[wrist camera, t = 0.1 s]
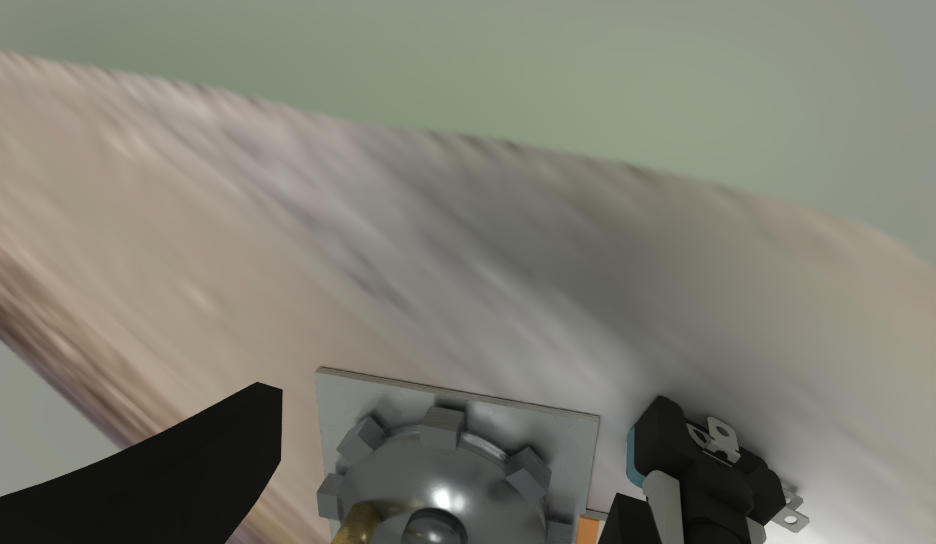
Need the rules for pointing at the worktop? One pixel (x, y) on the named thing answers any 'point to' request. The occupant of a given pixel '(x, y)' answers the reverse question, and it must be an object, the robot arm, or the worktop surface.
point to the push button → (704, 481)
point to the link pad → (589, 527)
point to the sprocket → (437, 488)
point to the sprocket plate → (494, 420)
